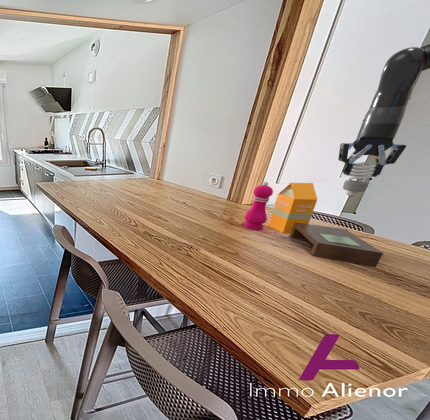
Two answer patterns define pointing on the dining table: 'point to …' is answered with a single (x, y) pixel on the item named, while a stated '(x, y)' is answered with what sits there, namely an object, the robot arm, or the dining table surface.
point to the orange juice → (293, 206)
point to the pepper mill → (258, 207)
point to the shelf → (336, 244)
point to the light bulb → (358, 173)
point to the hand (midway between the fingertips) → (359, 175)
